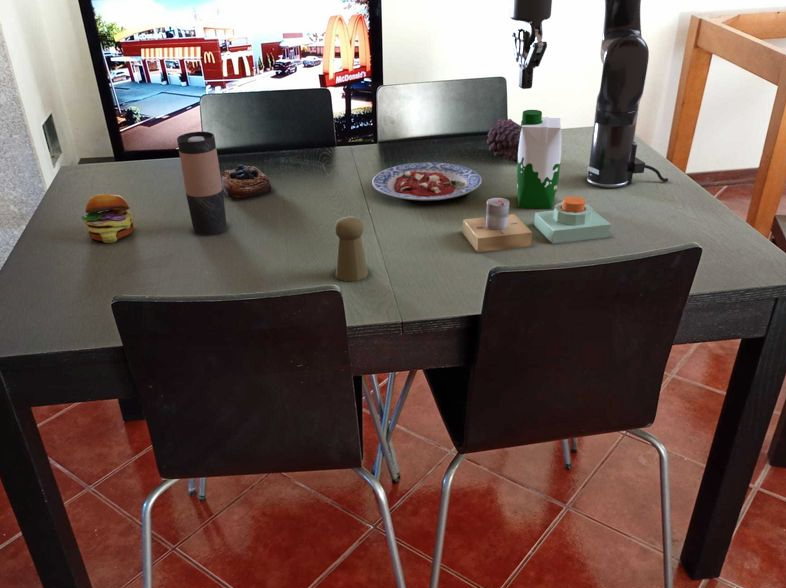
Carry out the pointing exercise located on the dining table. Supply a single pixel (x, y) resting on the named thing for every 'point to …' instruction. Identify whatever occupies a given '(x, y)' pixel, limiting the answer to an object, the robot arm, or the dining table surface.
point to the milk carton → (538, 160)
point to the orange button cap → (573, 204)
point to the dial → (497, 213)
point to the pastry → (245, 183)
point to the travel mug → (202, 182)
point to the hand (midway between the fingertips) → (525, 87)
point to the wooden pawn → (350, 250)
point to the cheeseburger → (108, 218)
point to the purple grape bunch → (505, 139)
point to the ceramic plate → (426, 181)
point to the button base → (571, 225)
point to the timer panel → (496, 234)
